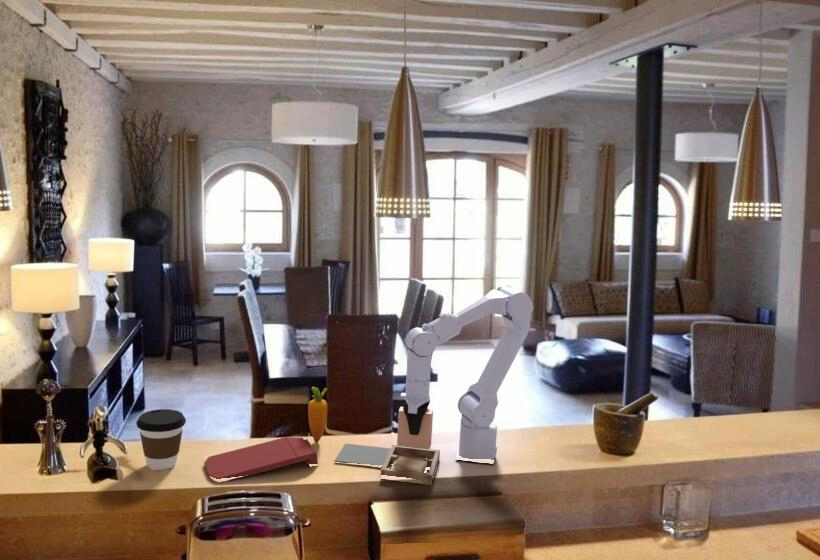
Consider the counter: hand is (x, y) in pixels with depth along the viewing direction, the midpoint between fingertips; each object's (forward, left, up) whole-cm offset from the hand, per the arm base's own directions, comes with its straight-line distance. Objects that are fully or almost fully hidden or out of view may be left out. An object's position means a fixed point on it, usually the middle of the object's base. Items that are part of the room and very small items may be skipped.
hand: (415, 431), depth 190 cm
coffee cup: (+57, +18, -8) cm, 60 cm away
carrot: (+26, -5, -8) cm, 28 cm away
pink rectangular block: (0, 0, -3) cm, 4 cm away
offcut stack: (0, +7, -8) cm, 11 cm away
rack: (0, +4, -8) cm, 9 cm away
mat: (+13, 0, -8) cm, 15 cm away
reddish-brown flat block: (+35, +12, -9) cm, 38 cm away
